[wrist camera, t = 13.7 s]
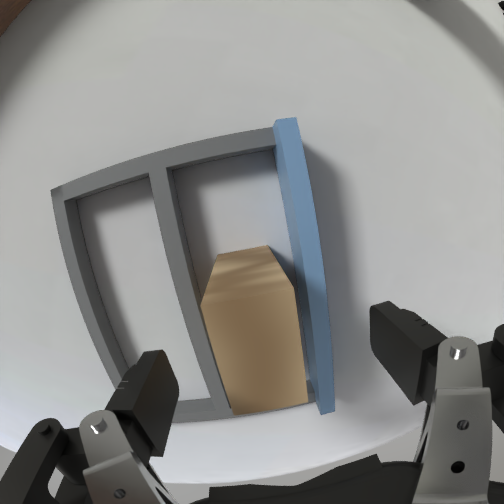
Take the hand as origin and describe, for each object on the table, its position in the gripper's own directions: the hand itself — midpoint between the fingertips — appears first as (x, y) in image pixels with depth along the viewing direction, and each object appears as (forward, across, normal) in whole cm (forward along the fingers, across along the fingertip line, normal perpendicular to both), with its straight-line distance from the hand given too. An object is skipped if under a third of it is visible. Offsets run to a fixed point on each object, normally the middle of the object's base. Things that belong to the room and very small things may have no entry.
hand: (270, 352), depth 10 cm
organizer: (+7, +4, 0) cm, 8 cm away
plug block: (+7, 0, 0) cm, 7 cm away
